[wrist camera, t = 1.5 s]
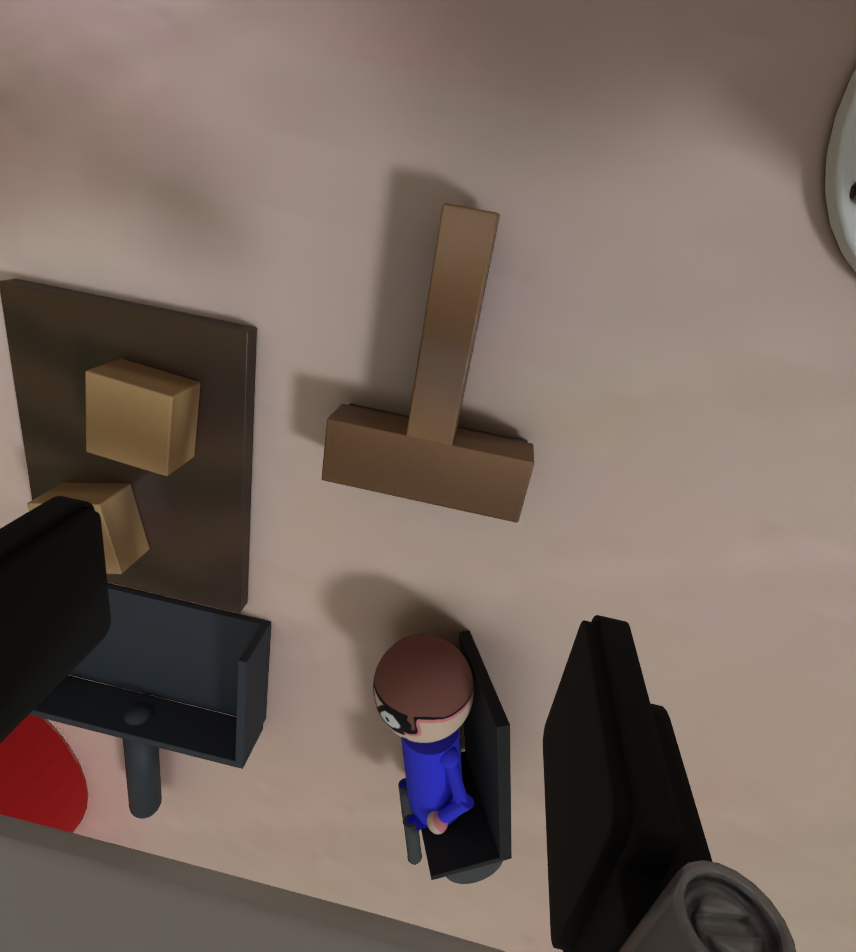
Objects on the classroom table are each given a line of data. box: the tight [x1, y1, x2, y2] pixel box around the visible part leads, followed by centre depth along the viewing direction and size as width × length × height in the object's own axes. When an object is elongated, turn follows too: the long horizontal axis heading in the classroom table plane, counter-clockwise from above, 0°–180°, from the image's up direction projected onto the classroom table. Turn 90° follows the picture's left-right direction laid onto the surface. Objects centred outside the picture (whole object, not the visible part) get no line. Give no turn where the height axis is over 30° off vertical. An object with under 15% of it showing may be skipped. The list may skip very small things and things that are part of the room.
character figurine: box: [373, 631, 511, 884], centre depth 31 cm, size 8×7×15 cm
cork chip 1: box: [86, 359, 200, 476], centre depth 27 cm, size 4×4×2 cm
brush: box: [322, 203, 534, 522], centre depth 24 cm, size 12×9×3 cm
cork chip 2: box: [27, 483, 149, 574], centre depth 30 cm, size 4×4×2 cm
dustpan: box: [29, 584, 271, 819], centre depth 36 cm, size 18×15×3 cm
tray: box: [0, 279, 257, 613], centre depth 30 cm, size 16×12×1 cm
